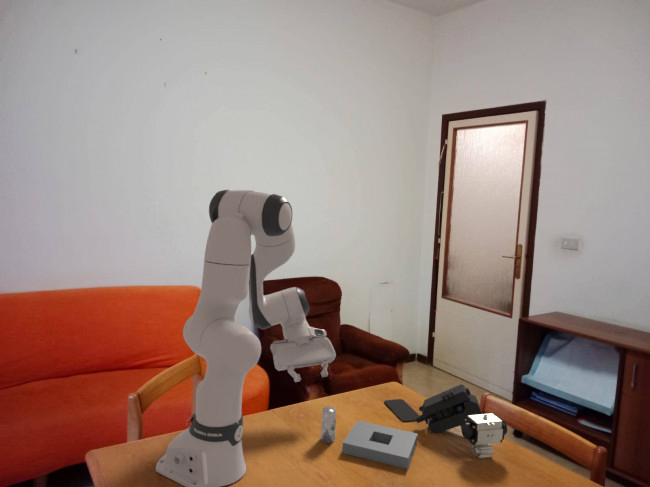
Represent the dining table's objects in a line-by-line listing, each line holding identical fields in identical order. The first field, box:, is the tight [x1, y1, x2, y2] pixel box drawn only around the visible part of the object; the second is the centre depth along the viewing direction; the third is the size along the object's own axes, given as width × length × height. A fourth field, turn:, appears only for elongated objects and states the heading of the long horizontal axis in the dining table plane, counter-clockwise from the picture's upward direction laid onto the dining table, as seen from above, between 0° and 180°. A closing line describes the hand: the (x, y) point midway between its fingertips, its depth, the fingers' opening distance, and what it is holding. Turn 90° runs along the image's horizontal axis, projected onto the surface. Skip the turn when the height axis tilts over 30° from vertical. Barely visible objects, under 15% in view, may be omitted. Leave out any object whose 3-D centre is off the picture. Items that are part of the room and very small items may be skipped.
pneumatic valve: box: [460, 412, 508, 460], centre depth 131 cm, size 6×12×12 cm, turn 105°
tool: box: [415, 383, 483, 435], centre depth 144 cm, size 6×19×15 cm, turn 78°
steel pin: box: [320, 406, 337, 444], centre depth 137 cm, size 4×4×9 cm
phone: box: [383, 398, 420, 423], centre depth 158 cm, size 7×1×15 cm
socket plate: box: [341, 420, 418, 470], centre depth 134 cm, size 18×14×3 cm
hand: (311, 378), depth 145 cm, fingers open, 8 cm apart
